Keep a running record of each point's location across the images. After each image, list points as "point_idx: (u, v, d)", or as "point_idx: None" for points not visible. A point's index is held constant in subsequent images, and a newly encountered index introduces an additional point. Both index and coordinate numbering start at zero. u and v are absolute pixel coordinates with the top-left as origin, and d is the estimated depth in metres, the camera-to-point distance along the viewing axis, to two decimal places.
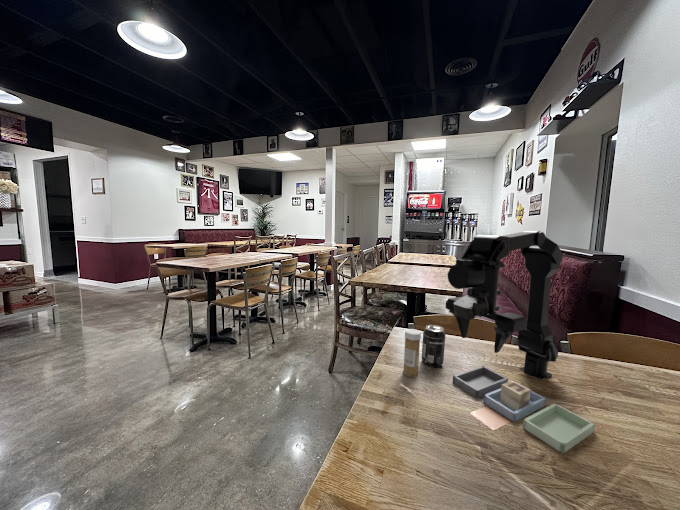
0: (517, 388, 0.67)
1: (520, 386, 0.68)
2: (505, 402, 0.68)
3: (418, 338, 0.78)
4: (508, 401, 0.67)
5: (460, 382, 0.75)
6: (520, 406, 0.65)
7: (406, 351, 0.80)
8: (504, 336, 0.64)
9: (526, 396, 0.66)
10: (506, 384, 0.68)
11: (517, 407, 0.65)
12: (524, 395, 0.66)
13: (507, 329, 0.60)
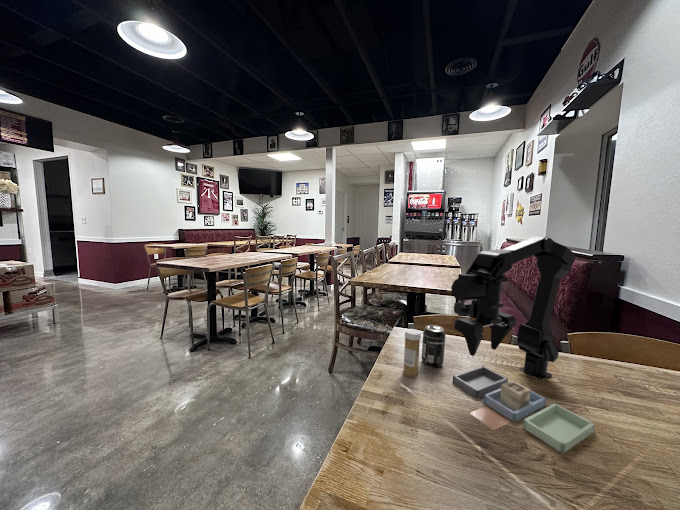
0: (517, 388, 0.67)
1: (520, 386, 0.68)
2: (505, 402, 0.68)
3: (418, 338, 0.78)
4: (508, 401, 0.67)
5: (460, 382, 0.75)
6: (520, 406, 0.65)
7: (406, 351, 0.80)
8: (472, 341, 0.72)
9: (526, 396, 0.66)
10: (506, 384, 0.68)
11: (517, 407, 0.65)
12: (524, 395, 0.66)
13: None
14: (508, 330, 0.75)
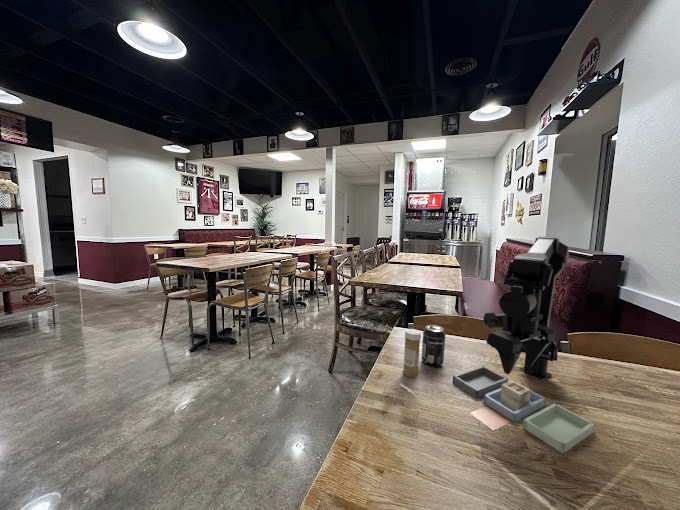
0: (517, 388, 0.67)
1: (520, 386, 0.68)
2: (505, 402, 0.68)
3: (418, 338, 0.78)
4: (508, 401, 0.67)
5: (460, 382, 0.75)
6: (520, 406, 0.65)
7: (406, 351, 0.80)
8: (507, 358, 0.63)
9: (526, 396, 0.66)
10: (506, 384, 0.68)
11: (517, 407, 0.65)
12: (524, 395, 0.66)
13: None
14: (546, 345, 0.66)
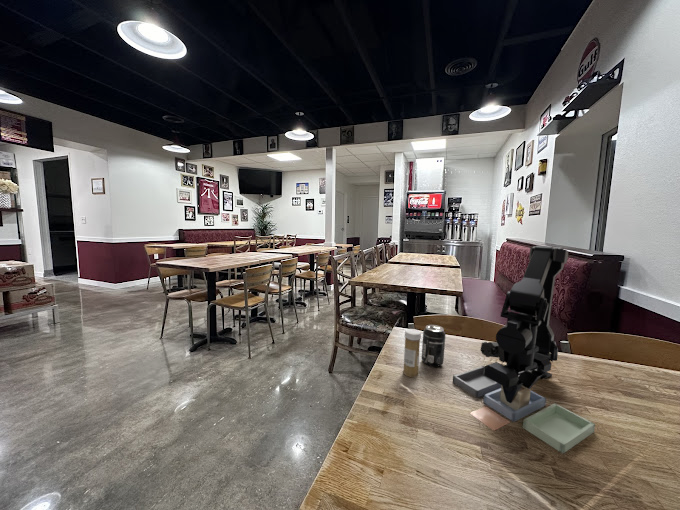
0: None
1: None
2: (505, 402, 0.68)
3: (418, 338, 0.78)
4: None
5: (460, 382, 0.75)
6: (520, 406, 0.65)
7: (406, 351, 0.80)
8: (509, 387, 0.65)
9: (526, 396, 0.66)
10: None
11: (517, 407, 0.65)
12: (524, 395, 0.66)
13: None
14: (538, 377, 0.66)
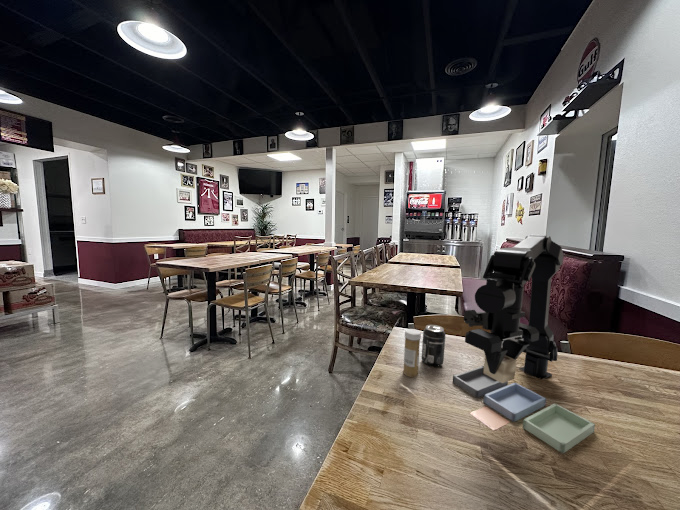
0: None
1: (505, 357, 0.62)
2: (489, 374, 0.62)
3: (418, 338, 0.78)
4: None
5: (460, 382, 0.75)
6: (505, 378, 0.60)
7: (406, 351, 0.80)
8: (493, 356, 0.60)
9: (511, 367, 0.60)
10: None
11: (501, 378, 0.60)
12: (509, 366, 0.60)
13: None
14: (524, 346, 0.61)
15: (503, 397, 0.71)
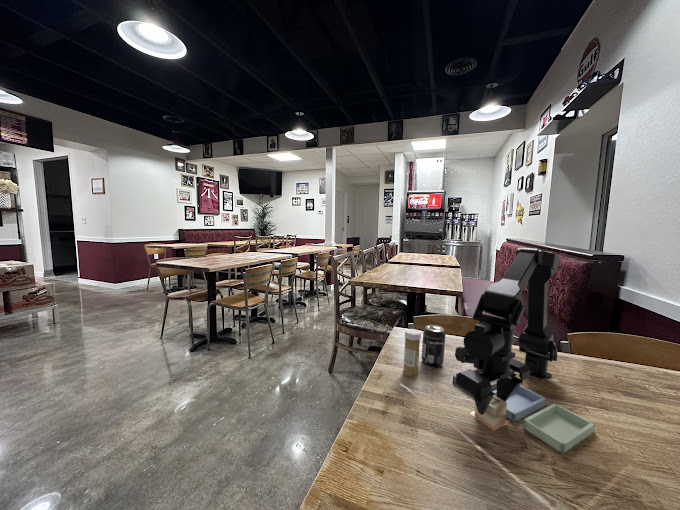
0: (492, 401, 0.62)
1: (496, 398, 0.63)
2: (480, 416, 0.63)
3: (418, 338, 0.78)
4: (483, 415, 0.62)
5: None
6: (495, 421, 0.60)
7: (406, 351, 0.80)
8: (481, 398, 0.60)
9: (502, 410, 0.61)
10: None
11: (492, 422, 0.60)
12: (500, 409, 0.60)
13: None
14: (518, 384, 0.62)
15: None
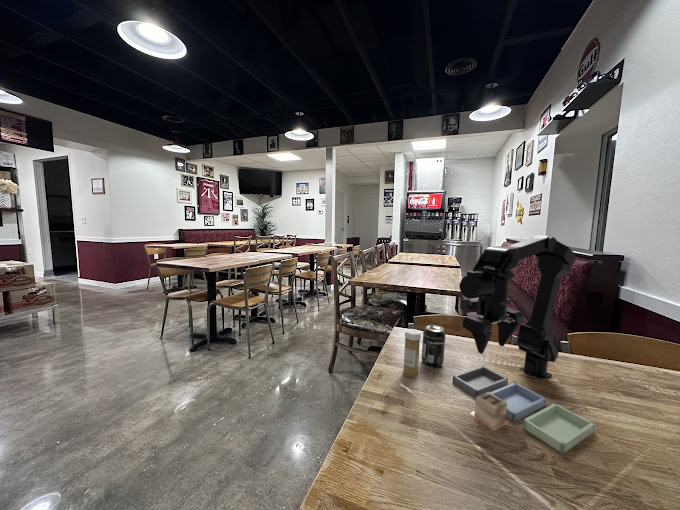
0: (492, 401, 0.62)
1: (496, 398, 0.63)
2: (480, 416, 0.63)
3: (418, 338, 0.78)
4: (483, 415, 0.62)
5: (460, 382, 0.75)
6: (495, 421, 0.60)
7: (406, 351, 0.80)
8: (480, 339, 0.71)
9: (502, 410, 0.61)
10: (481, 397, 0.63)
11: (492, 422, 0.60)
12: (500, 409, 0.60)
13: None
14: (516, 326, 0.74)
15: (503, 397, 0.71)
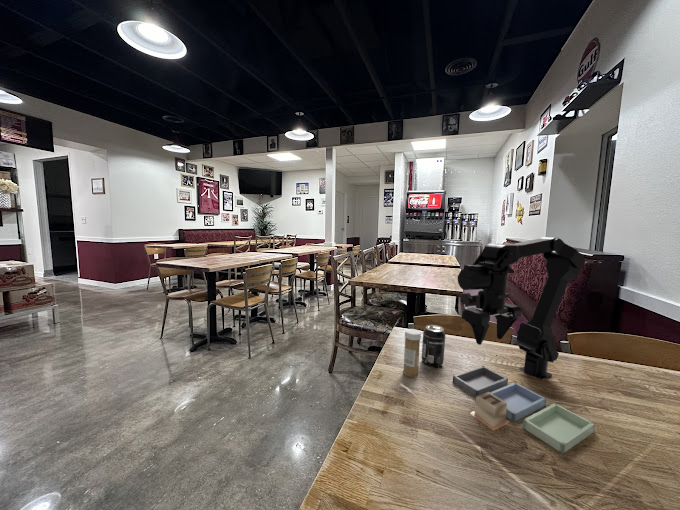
0: (492, 401, 0.62)
1: (496, 398, 0.63)
2: (480, 416, 0.63)
3: (418, 338, 0.78)
4: (483, 415, 0.62)
5: (460, 382, 0.75)
6: (495, 421, 0.60)
7: (406, 351, 0.80)
8: (479, 330, 0.74)
9: (502, 410, 0.61)
10: (481, 397, 0.63)
11: (492, 422, 0.60)
12: (500, 409, 0.60)
13: None
14: (514, 320, 0.77)
15: (503, 397, 0.71)
